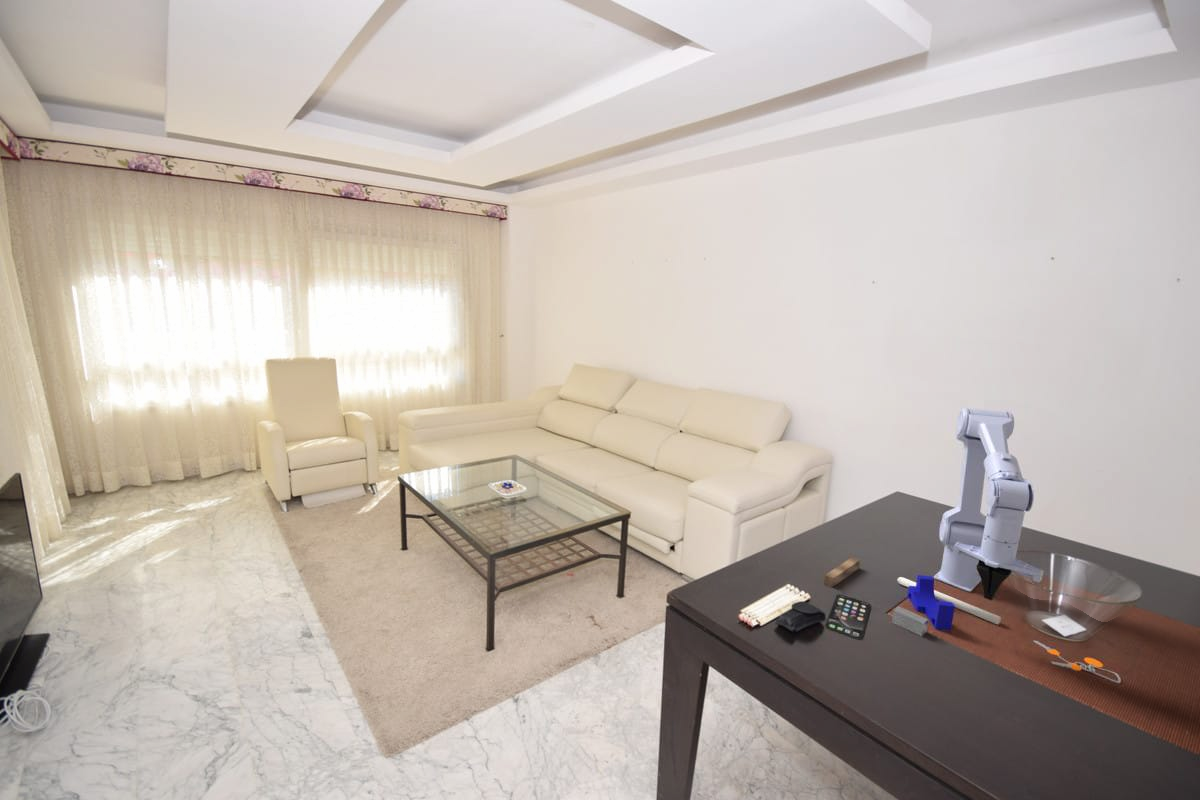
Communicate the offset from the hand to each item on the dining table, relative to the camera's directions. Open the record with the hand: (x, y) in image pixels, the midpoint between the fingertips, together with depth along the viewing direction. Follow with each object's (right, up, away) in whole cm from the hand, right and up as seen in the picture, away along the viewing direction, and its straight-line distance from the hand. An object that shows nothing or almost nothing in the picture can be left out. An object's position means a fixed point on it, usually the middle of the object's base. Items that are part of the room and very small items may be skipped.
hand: (989, 597), depth 108 cm
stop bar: (-19, -4, +25) cm, 31 cm away
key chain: (+13, -11, -5) cm, 18 cm away
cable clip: (-6, -8, +10) cm, 14 cm away
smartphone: (-25, -8, +9) cm, 28 cm away
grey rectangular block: (-14, -8, +5) cm, 17 cm away
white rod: (0, -7, +14) cm, 15 cm away
